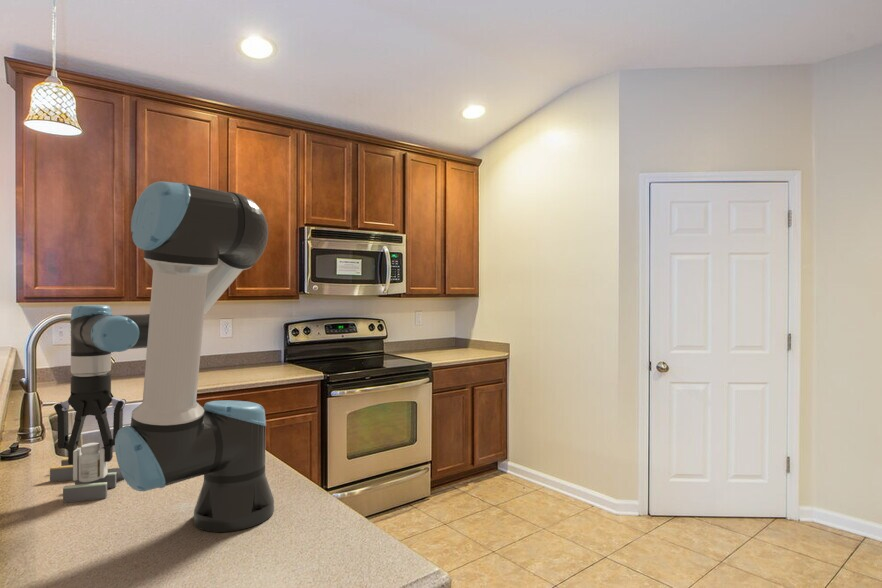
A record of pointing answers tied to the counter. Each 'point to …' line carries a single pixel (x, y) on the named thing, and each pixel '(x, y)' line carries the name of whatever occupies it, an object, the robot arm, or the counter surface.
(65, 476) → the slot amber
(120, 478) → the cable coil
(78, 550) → the counter surface
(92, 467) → the pill bottle
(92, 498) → the slot sage
